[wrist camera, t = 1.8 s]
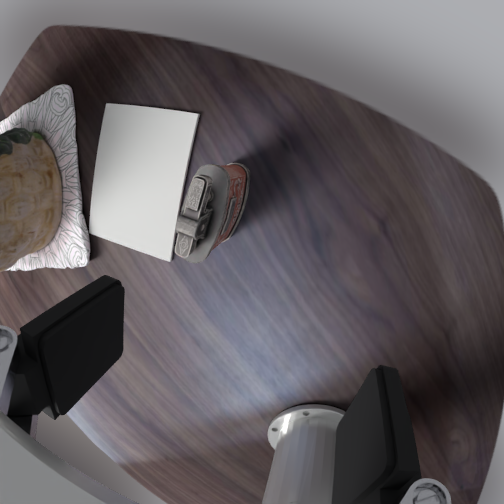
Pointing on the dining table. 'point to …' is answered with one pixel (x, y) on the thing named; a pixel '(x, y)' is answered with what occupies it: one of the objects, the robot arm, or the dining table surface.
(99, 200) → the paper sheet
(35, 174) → the cookie jar
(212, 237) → the lighter
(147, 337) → the dining table surface
